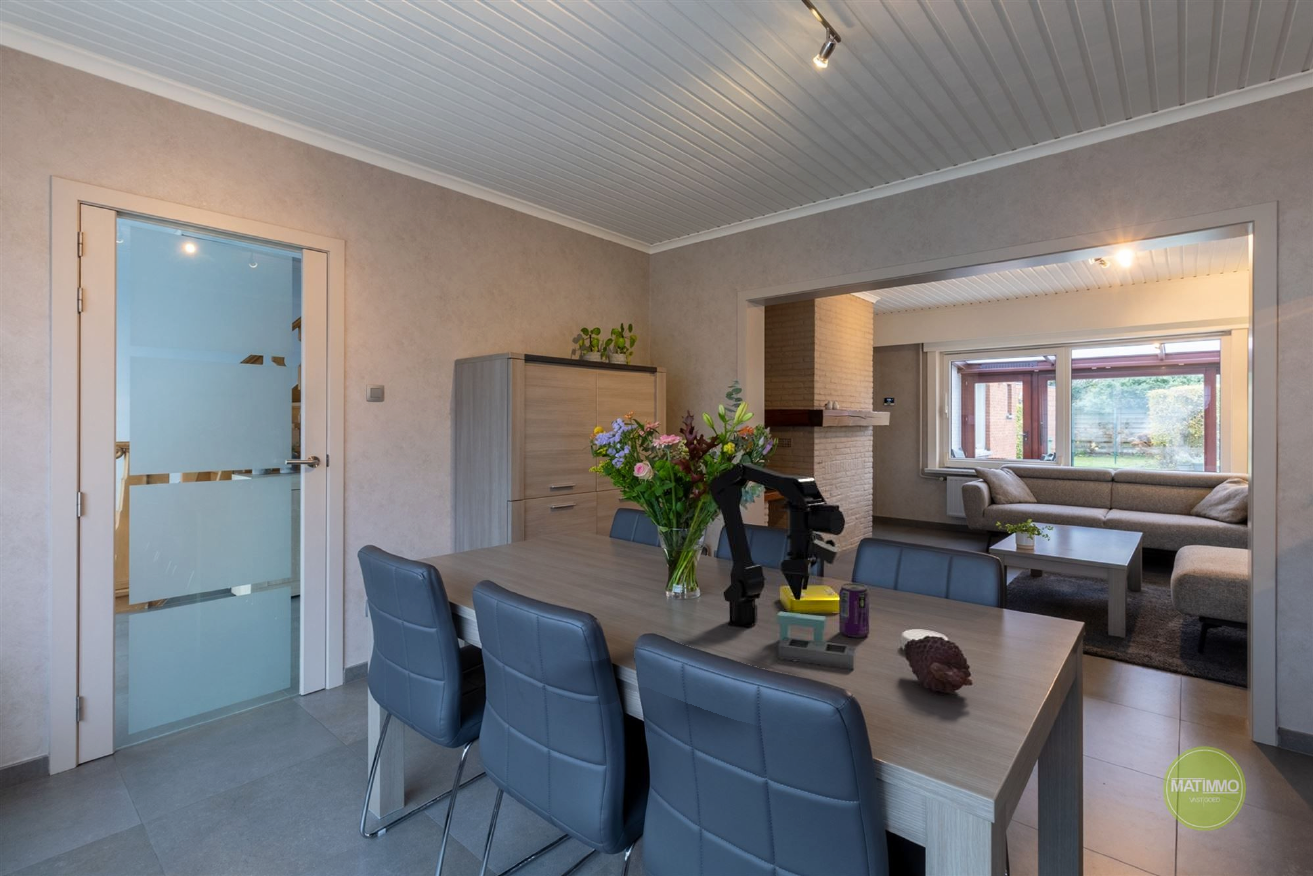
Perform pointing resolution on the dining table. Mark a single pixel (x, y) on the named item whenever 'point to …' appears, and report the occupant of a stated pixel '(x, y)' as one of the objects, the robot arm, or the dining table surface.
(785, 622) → the clip
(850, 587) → the beverage can
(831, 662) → the grey slotted base block
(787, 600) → the element tile
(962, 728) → the dining table surface
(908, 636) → the coaster
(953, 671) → the pine cone
